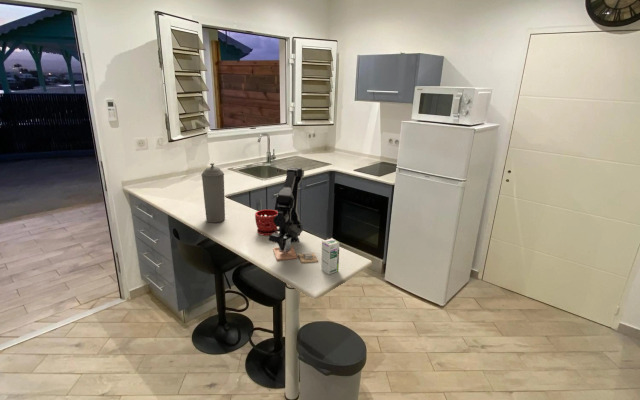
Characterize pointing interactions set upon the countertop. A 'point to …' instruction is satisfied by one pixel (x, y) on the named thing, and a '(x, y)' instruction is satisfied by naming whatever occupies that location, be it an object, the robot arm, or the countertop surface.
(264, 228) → the plant pot
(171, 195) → the countertop surface
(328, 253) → the syrup box
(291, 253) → the tray
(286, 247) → the strut
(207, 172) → the canister
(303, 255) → the stud base
